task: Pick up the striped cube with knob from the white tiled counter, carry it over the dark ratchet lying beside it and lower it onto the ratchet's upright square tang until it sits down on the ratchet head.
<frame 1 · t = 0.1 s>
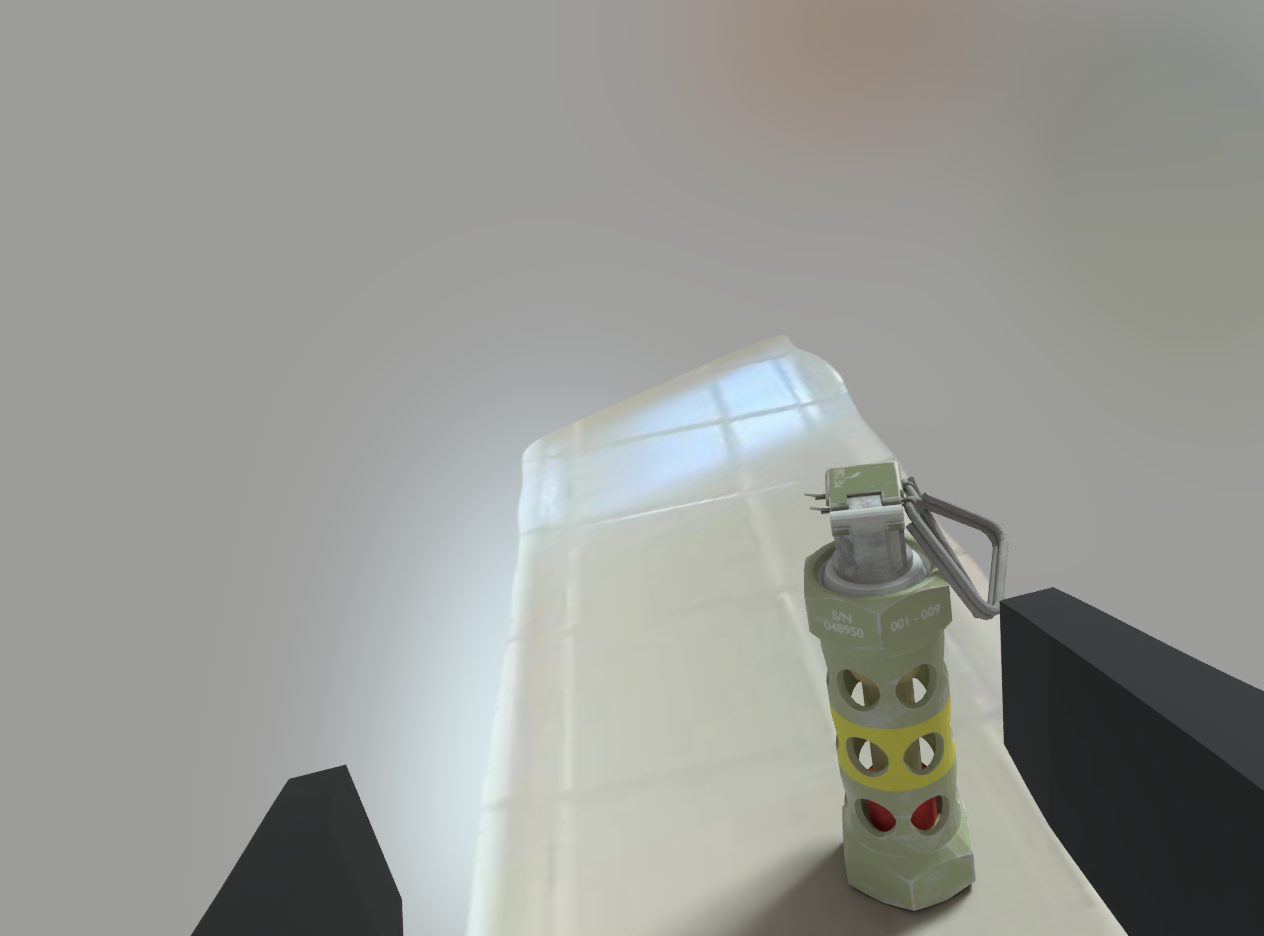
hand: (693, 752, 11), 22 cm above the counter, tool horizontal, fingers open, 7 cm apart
grenade: (936, 849, 37), on the counter
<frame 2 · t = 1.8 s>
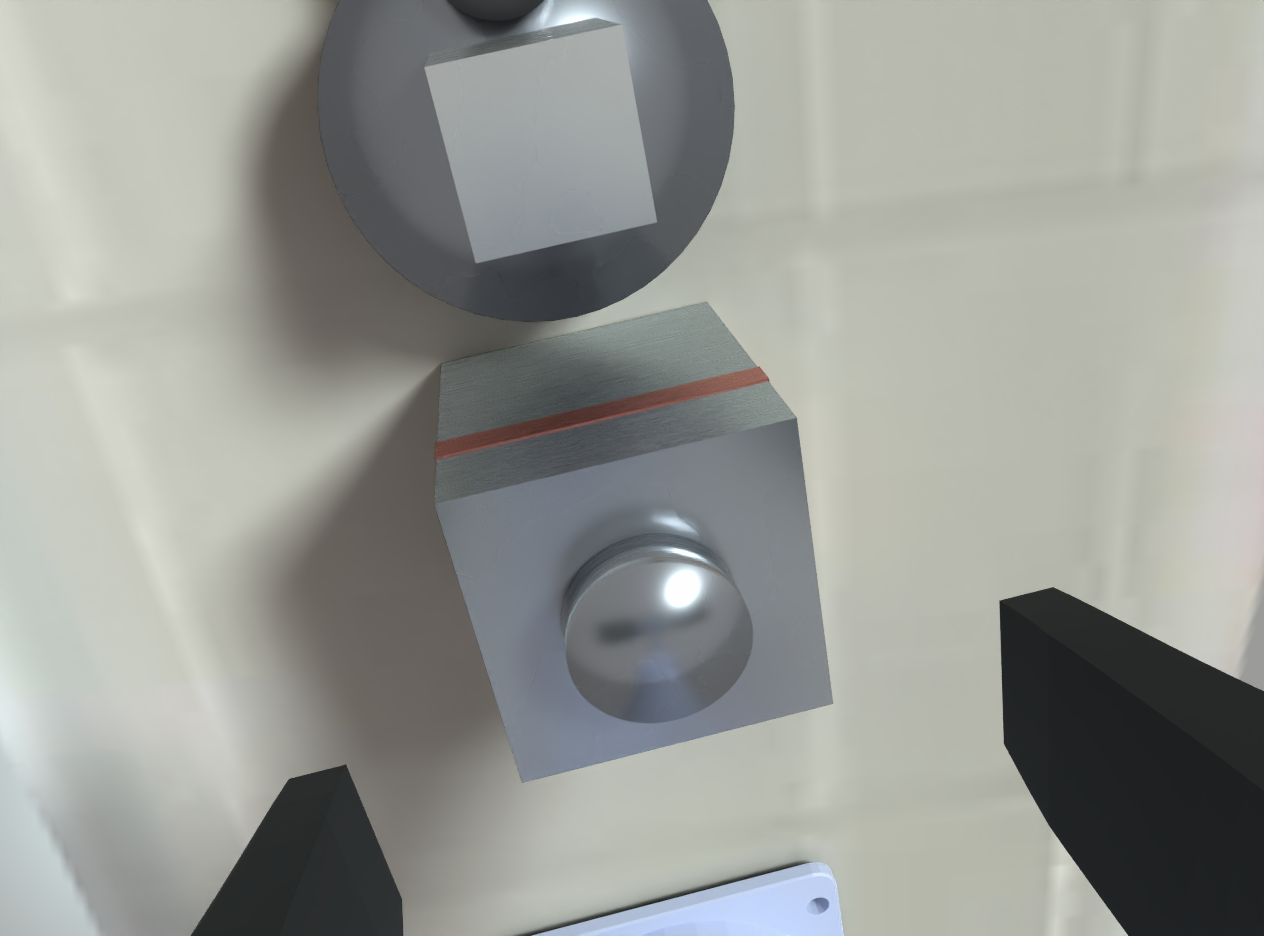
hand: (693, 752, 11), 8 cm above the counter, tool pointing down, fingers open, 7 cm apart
striped cube with knob: (602, 452, 18), on the counter
ratchet: (524, 105, 16), on the counter
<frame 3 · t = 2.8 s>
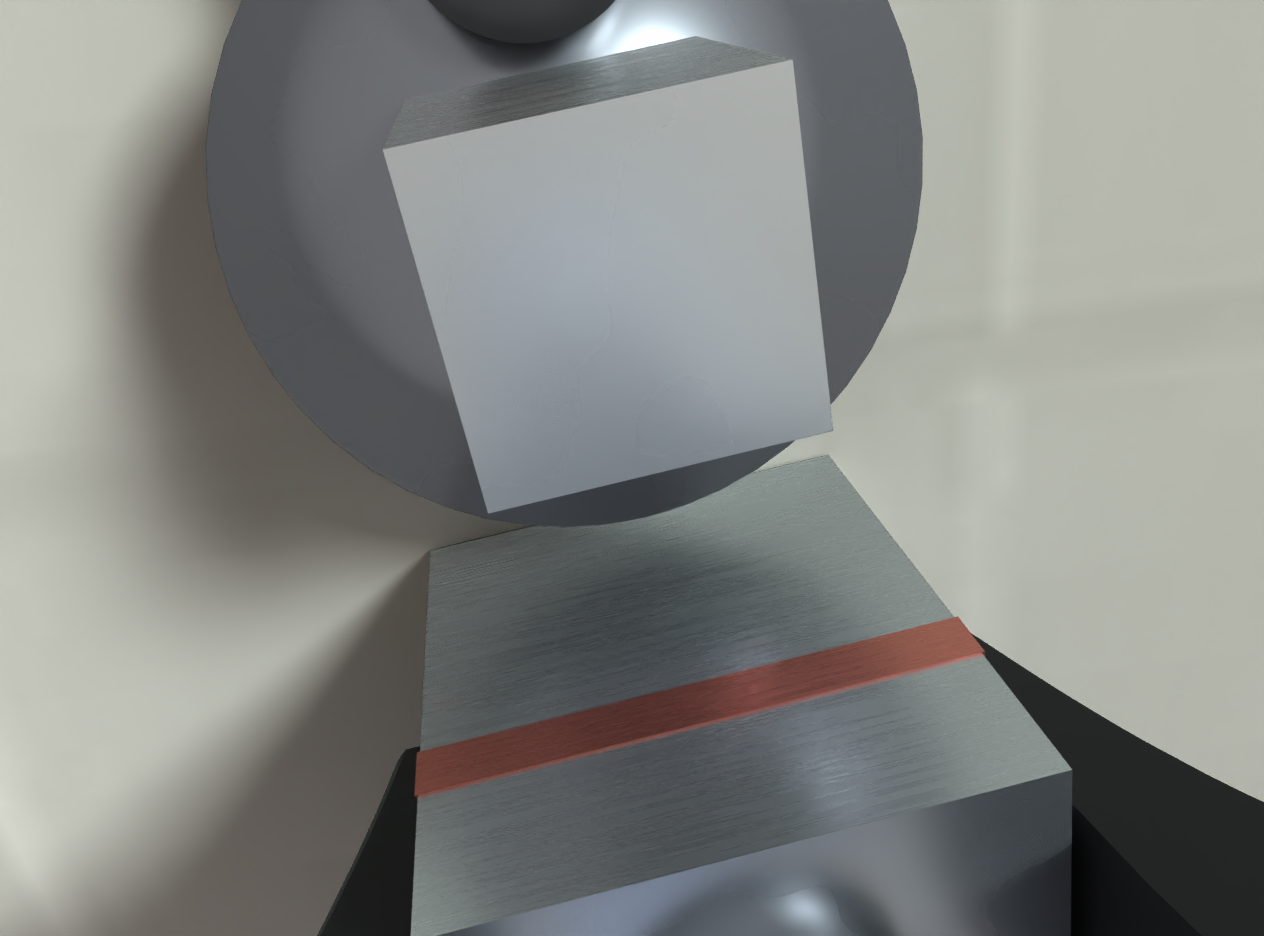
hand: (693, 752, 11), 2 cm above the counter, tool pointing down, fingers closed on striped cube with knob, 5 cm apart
striped cube with knob: (666, 664, 13), on the counter, touching gripper
ratchet: (560, 171, 10), on the counter
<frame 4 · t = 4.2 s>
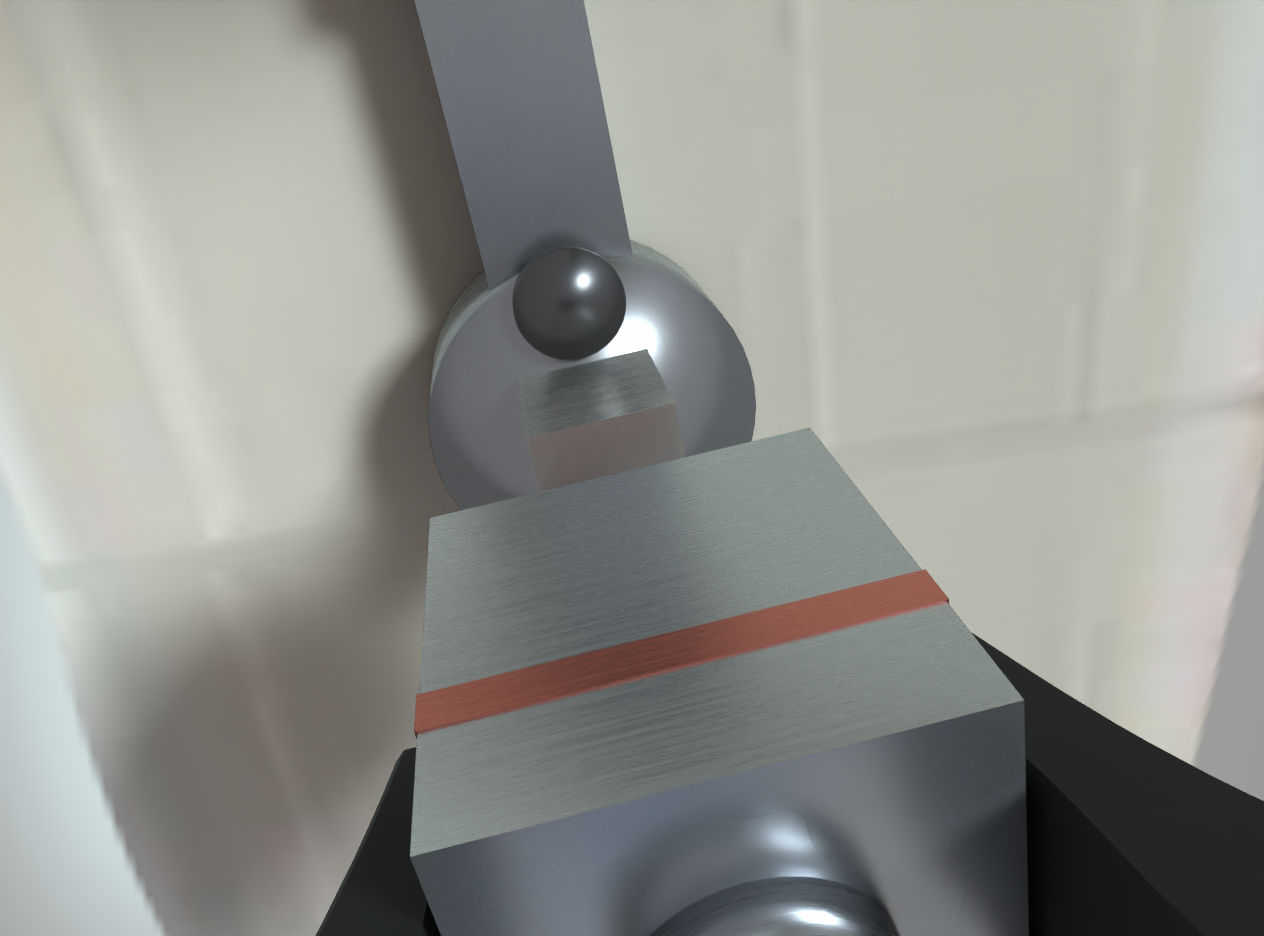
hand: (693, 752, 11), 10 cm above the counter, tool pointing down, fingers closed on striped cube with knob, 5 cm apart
striped cube with knob: (655, 630, 13), point 7 cm above the counter, touching gripper
ratchet: (583, 382, 19), on the counter
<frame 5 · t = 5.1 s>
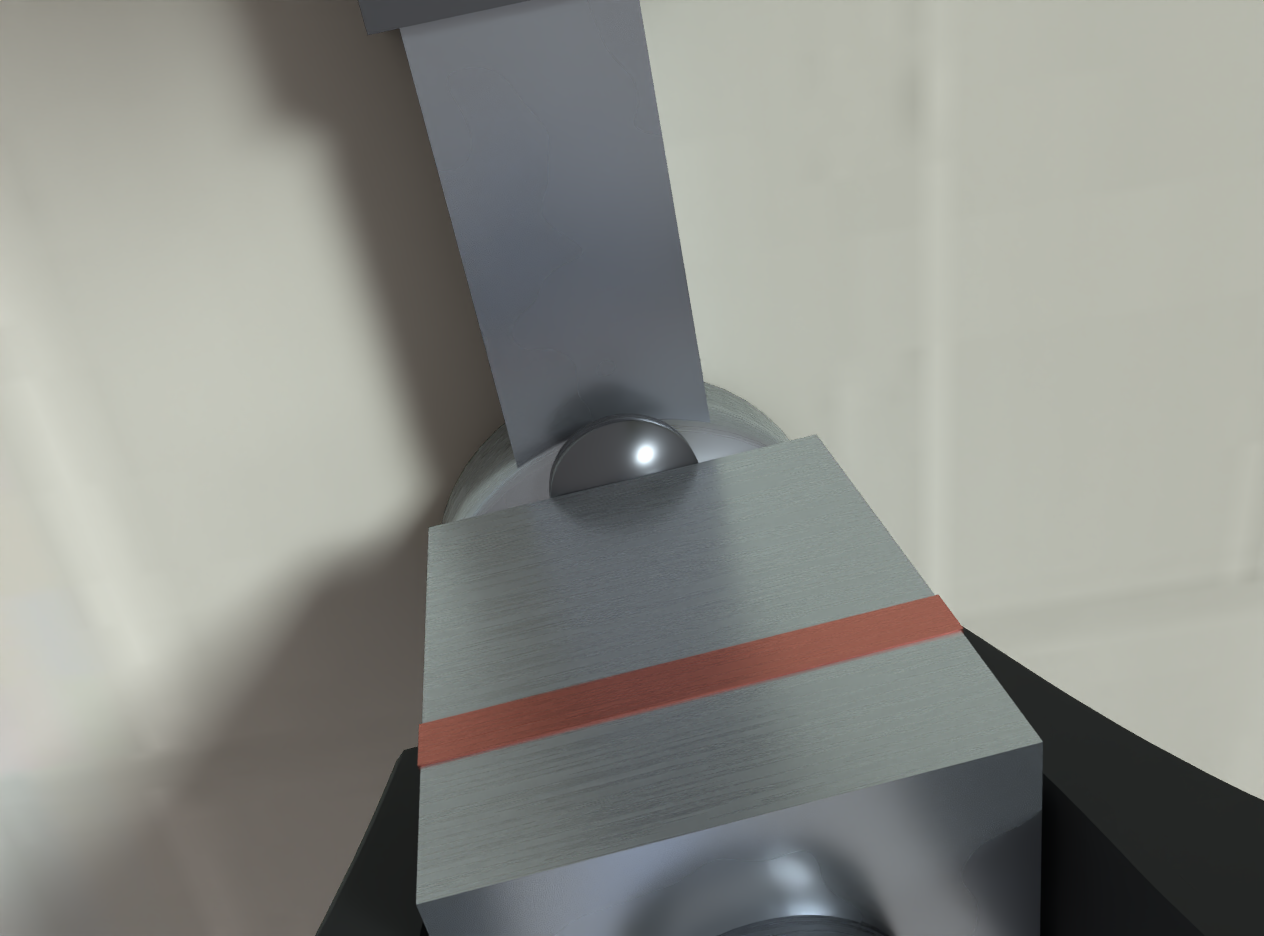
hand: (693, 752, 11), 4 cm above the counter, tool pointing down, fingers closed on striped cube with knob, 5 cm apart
striped cube with knob: (658, 636, 13), point 2 cm above the counter, touching gripper, ratchet
ratchet: (633, 554, 15), on the counter
when the fingers open (4 cm above the counter, at t = 5.7 s): striped cube with knob stays where it is, resting on ratchet.
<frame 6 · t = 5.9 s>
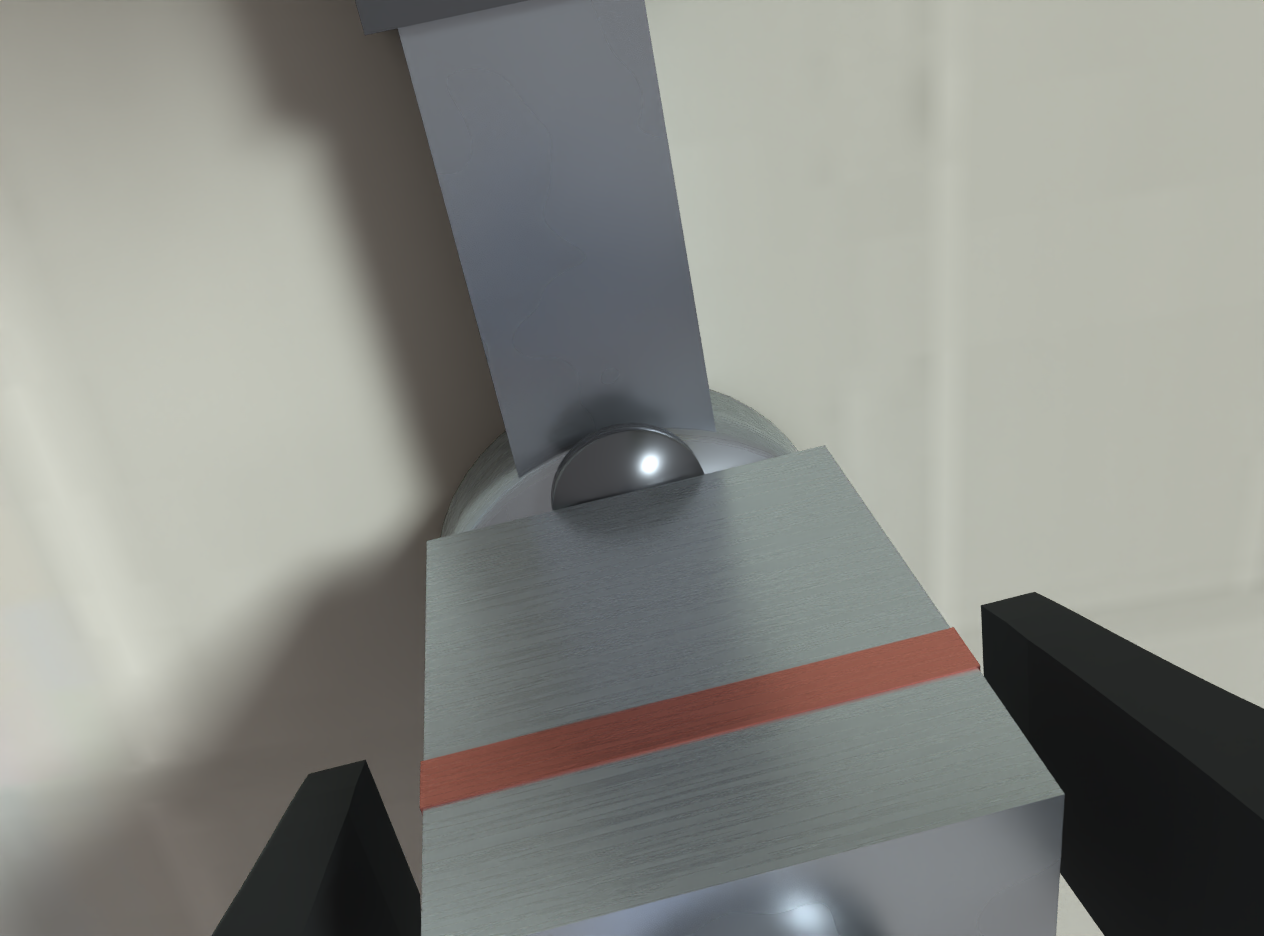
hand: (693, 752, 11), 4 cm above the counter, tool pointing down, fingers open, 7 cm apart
striped cube with knob: (660, 646, 13), point 2 cm above the counter, touching ratchet
ratchet: (636, 564, 15), on the counter
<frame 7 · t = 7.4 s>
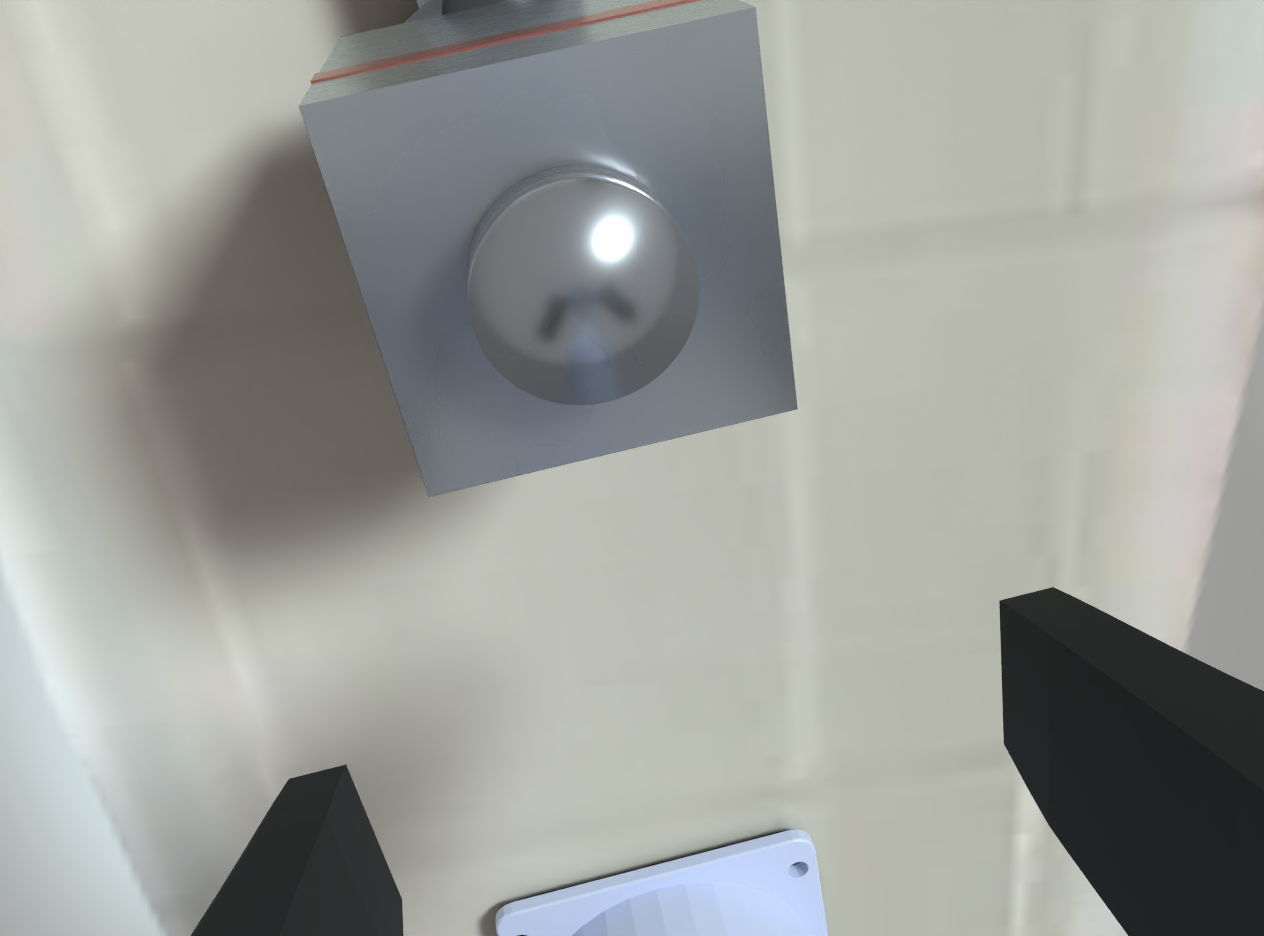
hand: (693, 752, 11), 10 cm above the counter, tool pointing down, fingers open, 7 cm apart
striped cube with knob: (537, 163, 16), point 2 cm above the counter, touching ratchet
ratchet: (530, 149, 18), on the counter
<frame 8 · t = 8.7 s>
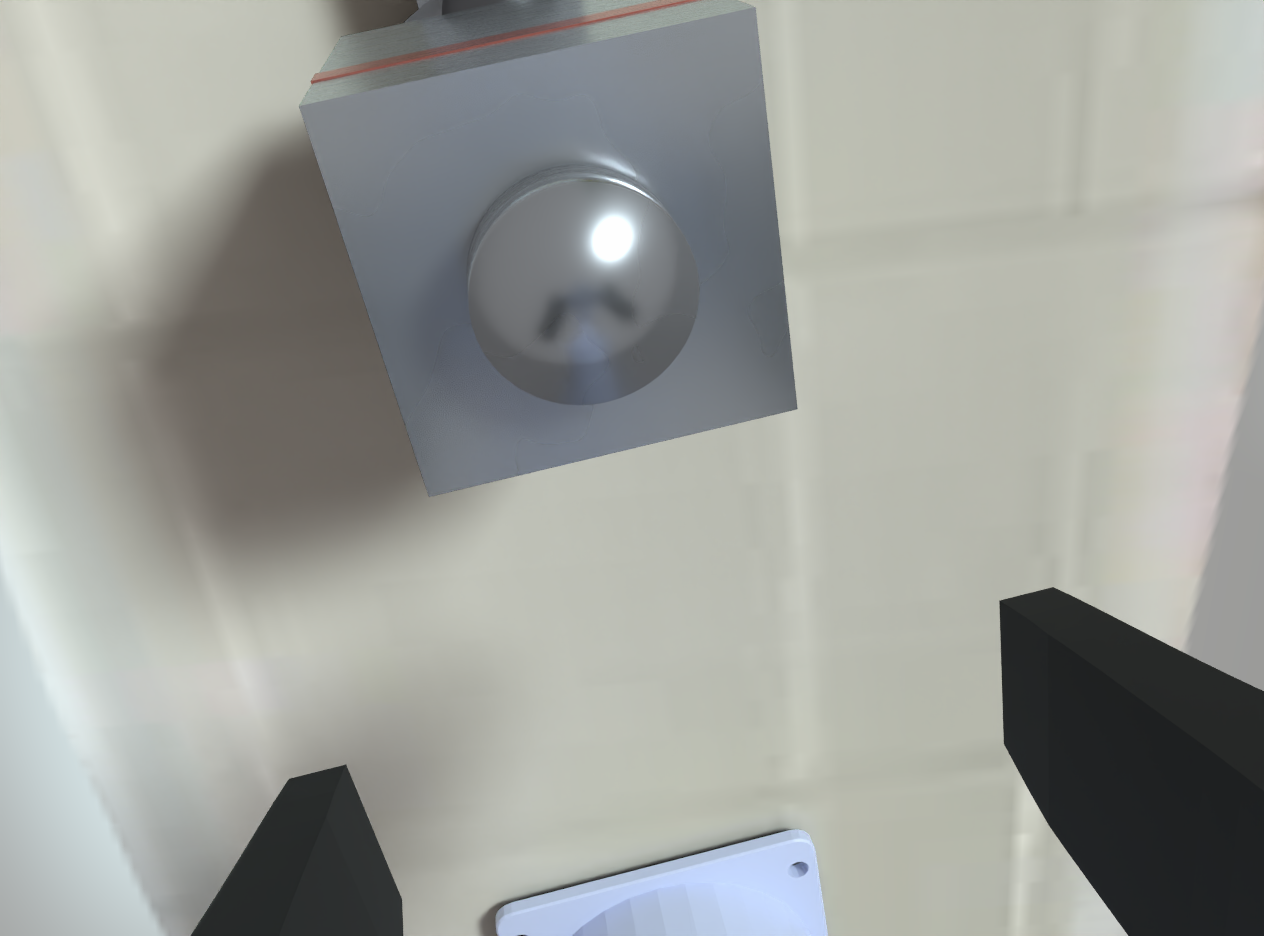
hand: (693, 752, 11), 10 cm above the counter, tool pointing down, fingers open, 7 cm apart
striped cube with knob: (537, 163, 16), point 2 cm above the counter, touching ratchet
ratchet: (530, 149, 18), on the counter
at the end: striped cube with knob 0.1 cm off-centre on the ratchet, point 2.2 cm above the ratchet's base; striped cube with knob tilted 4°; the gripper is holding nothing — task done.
